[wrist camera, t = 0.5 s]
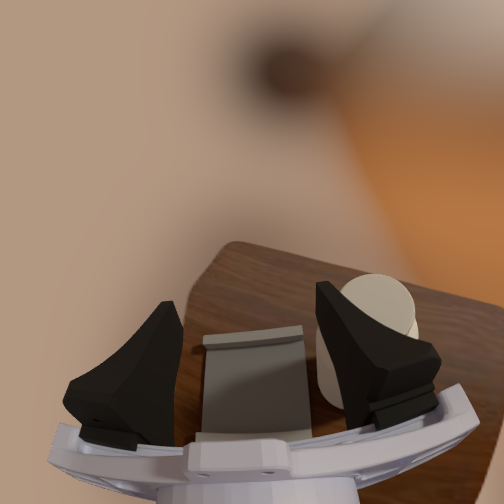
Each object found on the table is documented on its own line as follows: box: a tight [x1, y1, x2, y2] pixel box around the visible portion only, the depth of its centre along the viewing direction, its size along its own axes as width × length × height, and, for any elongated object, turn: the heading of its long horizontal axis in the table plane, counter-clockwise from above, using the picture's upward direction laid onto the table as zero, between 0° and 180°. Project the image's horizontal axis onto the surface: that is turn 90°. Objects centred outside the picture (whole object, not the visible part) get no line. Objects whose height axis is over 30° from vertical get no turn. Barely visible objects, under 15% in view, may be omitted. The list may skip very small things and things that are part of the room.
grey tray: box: [196, 325, 312, 443], centre depth 27 cm, size 13×12×2 cm
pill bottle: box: [316, 274, 418, 409], centre depth 21 cm, size 8×8×15 cm
